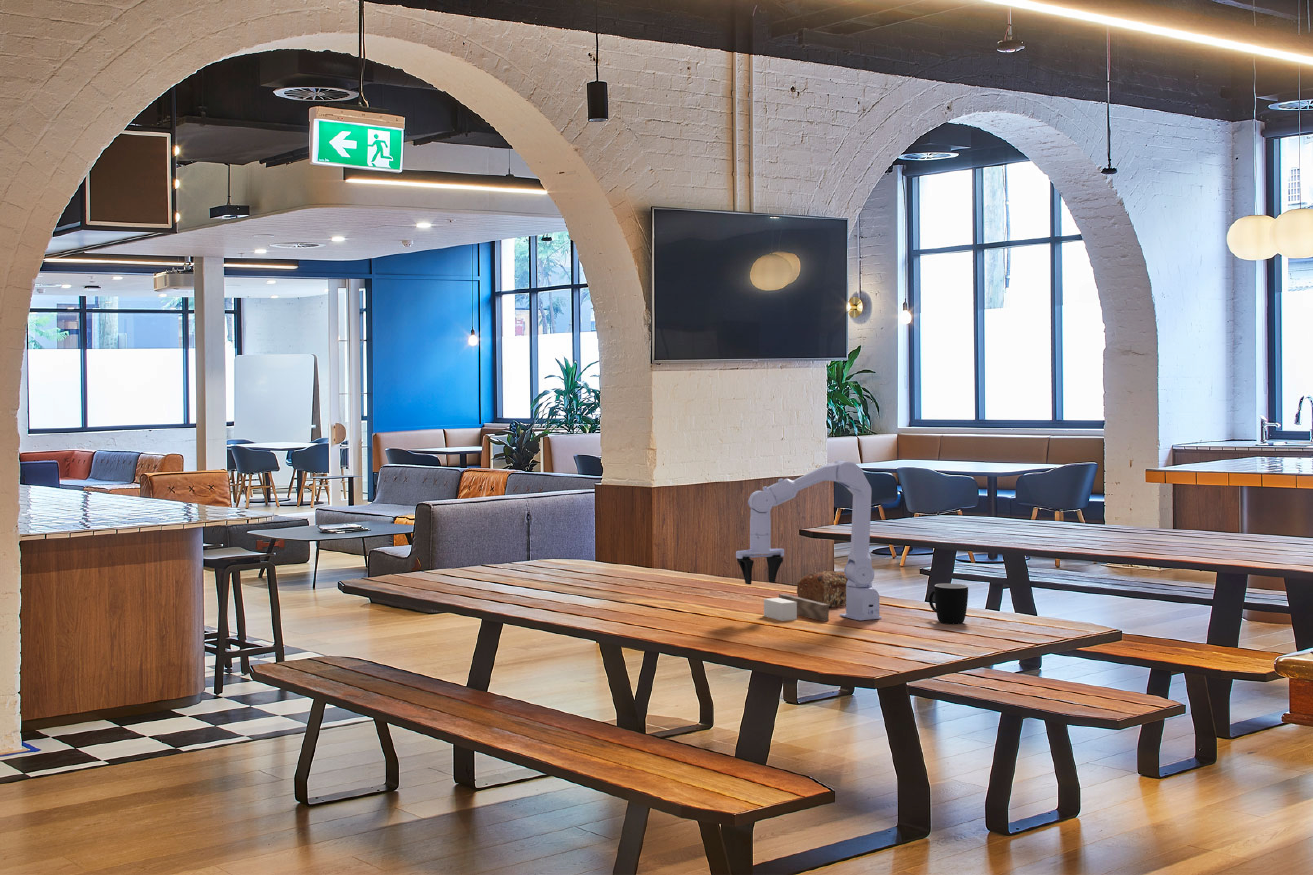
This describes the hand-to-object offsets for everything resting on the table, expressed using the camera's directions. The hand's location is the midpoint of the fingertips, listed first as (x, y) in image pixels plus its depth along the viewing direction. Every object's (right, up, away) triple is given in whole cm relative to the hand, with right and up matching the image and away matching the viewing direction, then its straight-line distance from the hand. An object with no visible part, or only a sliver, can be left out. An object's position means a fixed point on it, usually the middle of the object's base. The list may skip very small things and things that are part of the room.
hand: (760, 583), depth 355 cm
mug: (+51, -10, -4) cm, 52 cm away
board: (+13, -10, +7) cm, 17 cm away
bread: (+23, -10, +27) cm, 37 cm away
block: (+6, -10, +3) cm, 12 cm away
